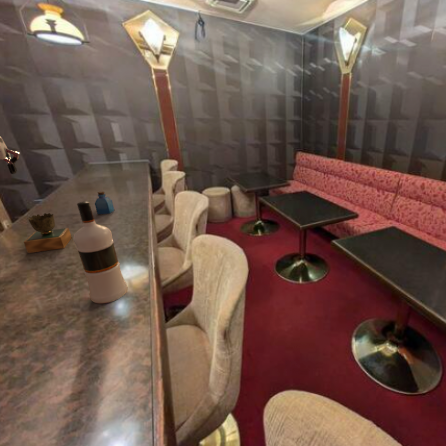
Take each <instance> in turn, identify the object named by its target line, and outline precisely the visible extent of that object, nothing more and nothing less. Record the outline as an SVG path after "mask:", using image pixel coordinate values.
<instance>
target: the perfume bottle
mask: <svg viewBox="0 0 446 446" xmlns="http://www.w3.org/2000/svg"><path fill="white" fill-rule="evenodd" d="M97 197H98V198H96V199H95V202H94V207H95V209H96V213H97V215H107V214H108V215H109V214H111V213H113V212H114V211H115V208H114V204H113V200H112V199H111V198H110V197H109V196H106V193H105V191H97Z"/></svg>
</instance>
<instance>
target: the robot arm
mask: <svg viewBox="0 0 446 446" xmlns="http://www.w3.org/2000/svg"><path fill="white" fill-rule="evenodd" d="M11 155H13V157H12V158H11ZM20 155H21V153H20V152H19V151H17V150H16V151H15V150H13V149H9V148H8V147H7V145H6V143H5V141H4V139H3V137H2V136H1V135H0V160H2V161H4V162H6V163H7V169H8V171H9V174H10V175H15V174H17V172H18V169H17V167H16V163H17V162H18V160H19V159H20Z"/></svg>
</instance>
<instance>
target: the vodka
mask: <svg viewBox="0 0 446 446" xmlns="http://www.w3.org/2000/svg"><path fill="white" fill-rule="evenodd" d="M76 205H77V209H78V212H79V215H80V220H81V222H82V225H83V226H81V227H80V228H79V229H78V230H76V231H75V232H74V233H73V237H72V241H73V243H74V245H75V249H76V250H77V253H78V255H79V258H80V261H81V264H82V267H83V269H84V270H83V274H84V275H85V277H86V280H87V284H88V289H89V299H90V300H91V301H92V302H93V303H94V304H108V303H111V302H115V301H117V300H118V299H121V298H122V297H123V296H124V295H126V293H127V292H128V290H129V289H128V288H129V287H128V283H127V281H125V278H124V275H123V272H122V270H121V263H120V262H119V259H118V256H117V255H118V254H117V252H116V248H115V244H114V239H113V234H112V231H111V229H110V228H109V227H107V226H105V225H102V224H97V223H96V220H95V217H94V213H93V211H92V208H91V204H90V202H89V201H80V202H77V203H76Z"/></svg>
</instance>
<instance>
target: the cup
mask: <svg viewBox="0 0 446 446" xmlns="http://www.w3.org/2000/svg"><path fill="white" fill-rule="evenodd" d="M54 216H55V215H54V213H50V212H48V213H43V215H40V214H36V215H32V216H29V217H27V221H28V223H29V224H30V226H31V228H32V229H33V230H34V231H35V232H40V234H41V235H49V234H51V233H52V232H53V231H52V230H54V229H55V226H56V221H55V218H54Z"/></svg>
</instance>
